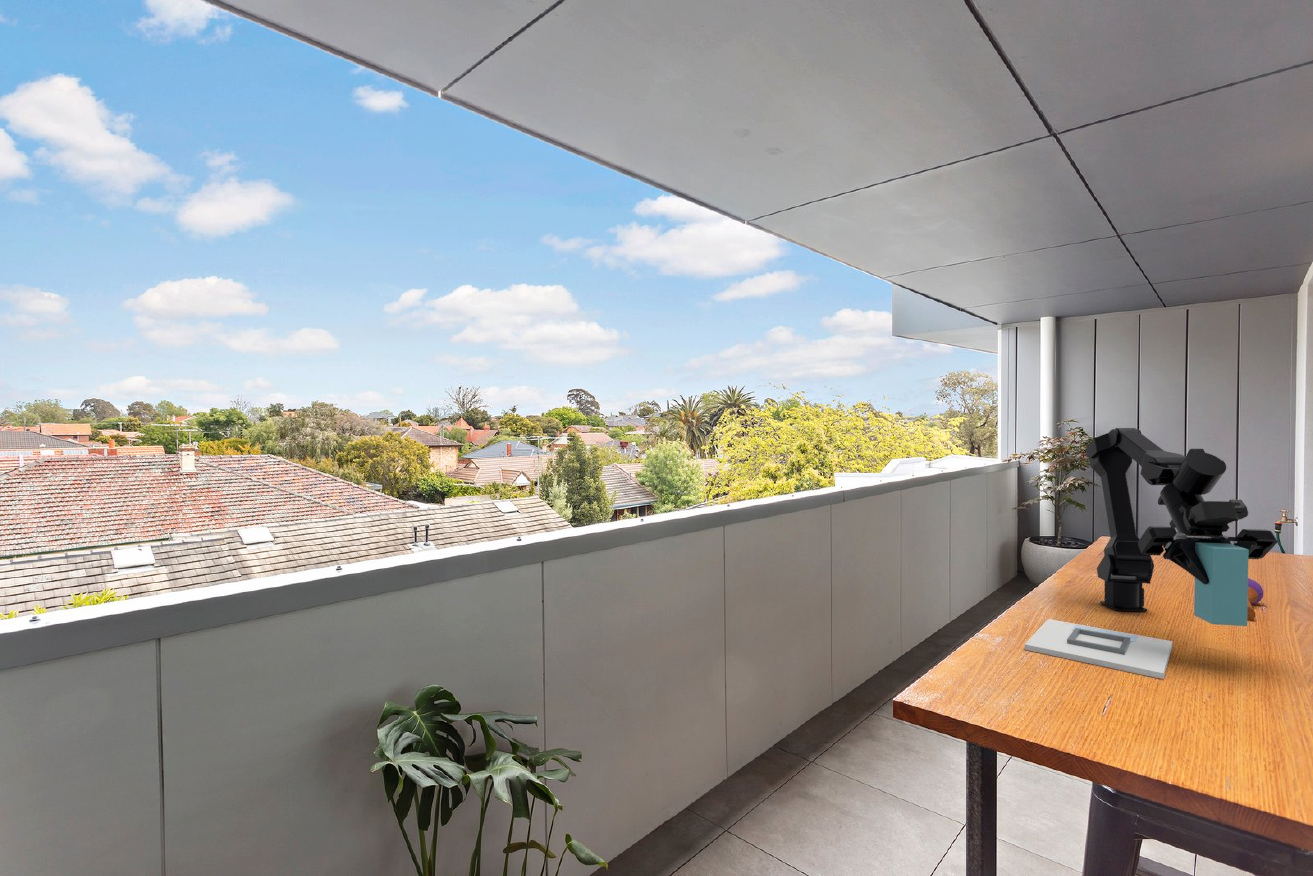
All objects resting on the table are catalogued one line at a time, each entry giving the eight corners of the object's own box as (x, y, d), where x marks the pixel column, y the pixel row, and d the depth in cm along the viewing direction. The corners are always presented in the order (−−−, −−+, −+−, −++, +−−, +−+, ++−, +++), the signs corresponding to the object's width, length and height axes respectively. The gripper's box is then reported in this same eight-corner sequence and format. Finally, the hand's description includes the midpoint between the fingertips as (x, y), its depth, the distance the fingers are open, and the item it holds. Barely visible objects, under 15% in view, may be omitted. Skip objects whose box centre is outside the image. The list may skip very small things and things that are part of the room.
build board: (1048, 623, 129) (1048, 615, 129) (1172, 646, 116) (1172, 637, 116) (1024, 649, 115) (1024, 639, 115) (1163, 679, 101) (1163, 668, 101)
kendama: (1222, 599, 133) (1225, 575, 148) (1229, 626, 133) (1231, 600, 147) (1260, 599, 129) (1259, 574, 143) (1267, 627, 129) (1266, 600, 143)
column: (1194, 615, 110) (1195, 542, 110) (1227, 617, 109) (1229, 543, 108) (1211, 624, 105) (1213, 548, 105) (1247, 626, 104) (1248, 549, 104)
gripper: (1147, 482, 112) (1181, 555, 102) (1271, 484, 108) (1320, 560, 98) (1125, 518, 120) (1154, 590, 110) (1239, 521, 116) (1282, 596, 105)
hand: (1225, 584), depth 105 cm, fingers closed on column, 5 cm apart
